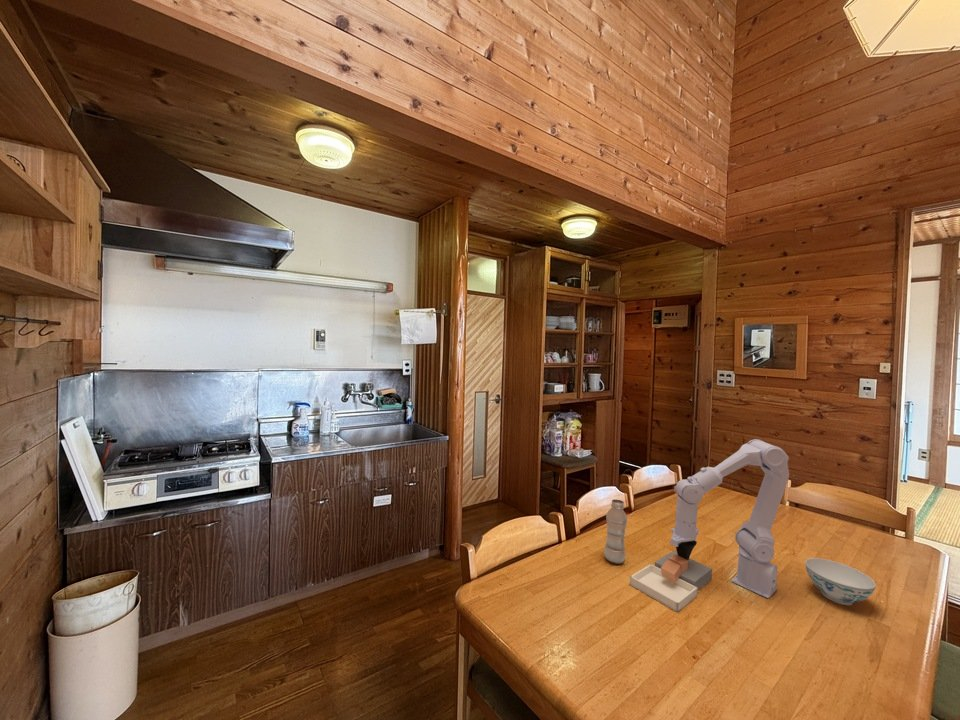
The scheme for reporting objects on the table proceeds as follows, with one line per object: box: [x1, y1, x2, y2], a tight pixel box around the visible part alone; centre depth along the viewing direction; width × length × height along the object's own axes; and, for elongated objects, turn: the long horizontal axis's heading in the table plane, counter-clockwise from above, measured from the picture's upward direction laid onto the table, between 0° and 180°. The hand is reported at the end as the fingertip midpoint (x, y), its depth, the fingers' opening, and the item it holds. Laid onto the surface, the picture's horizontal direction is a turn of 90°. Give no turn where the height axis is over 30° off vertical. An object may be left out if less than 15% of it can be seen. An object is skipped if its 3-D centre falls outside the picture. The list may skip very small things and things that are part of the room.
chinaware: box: [804, 557, 877, 606], centre depth 111 cm, size 15×15×8 cm
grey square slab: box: [654, 550, 713, 591], centre depth 118 cm, size 12×12×4 cm
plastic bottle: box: [603, 499, 628, 565], centre depth 124 cm, size 6×7×20 cm
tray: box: [629, 563, 699, 613], centre depth 110 cm, size 14×12×2 cm
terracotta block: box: [661, 560, 682, 583], centre depth 113 cm, size 4×4×3 cm
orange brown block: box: [669, 554, 688, 573], centre depth 115 cm, size 4×4×3 cm
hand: (683, 562), depth 117 cm, fingers closed
